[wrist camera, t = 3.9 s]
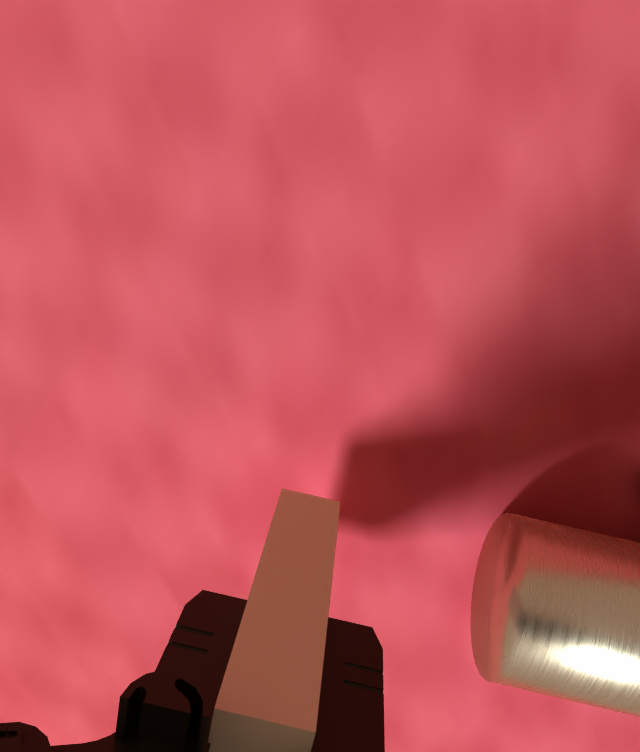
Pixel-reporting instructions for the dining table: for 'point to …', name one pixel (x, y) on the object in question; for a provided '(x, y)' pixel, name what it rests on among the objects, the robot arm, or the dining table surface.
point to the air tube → (559, 612)
